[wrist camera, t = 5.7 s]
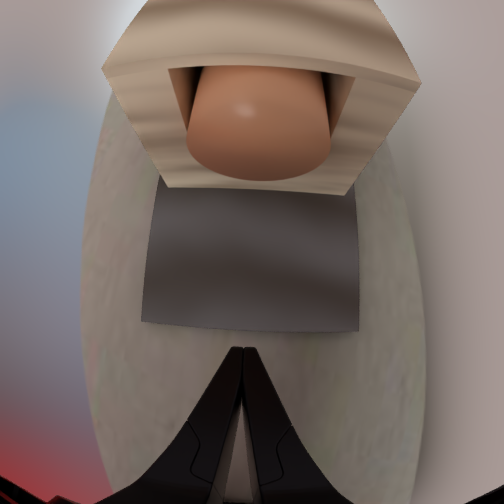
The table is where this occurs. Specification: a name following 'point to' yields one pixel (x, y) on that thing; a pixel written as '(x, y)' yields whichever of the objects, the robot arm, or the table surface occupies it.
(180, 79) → the knob mount
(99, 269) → the table surface
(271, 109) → the knob
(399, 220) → the table surface
